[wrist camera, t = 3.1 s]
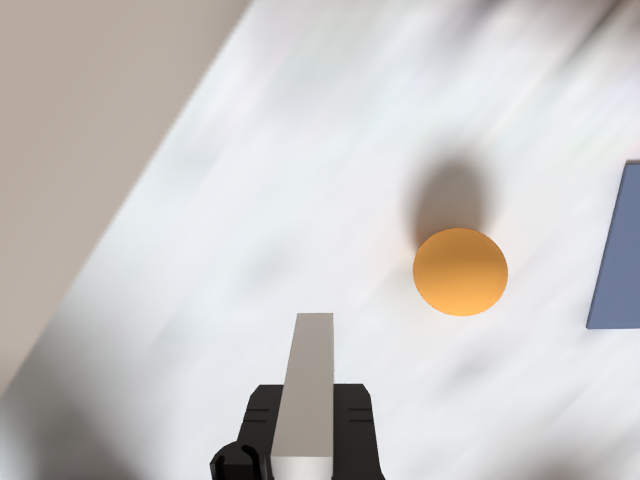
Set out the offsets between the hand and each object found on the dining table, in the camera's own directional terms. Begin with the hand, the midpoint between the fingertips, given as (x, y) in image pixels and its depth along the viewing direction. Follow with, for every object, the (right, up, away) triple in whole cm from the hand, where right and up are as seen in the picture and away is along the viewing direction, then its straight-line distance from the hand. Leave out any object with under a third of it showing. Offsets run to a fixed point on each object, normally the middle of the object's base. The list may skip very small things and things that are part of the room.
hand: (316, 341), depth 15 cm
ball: (+9, +2, +7) cm, 11 cm away
